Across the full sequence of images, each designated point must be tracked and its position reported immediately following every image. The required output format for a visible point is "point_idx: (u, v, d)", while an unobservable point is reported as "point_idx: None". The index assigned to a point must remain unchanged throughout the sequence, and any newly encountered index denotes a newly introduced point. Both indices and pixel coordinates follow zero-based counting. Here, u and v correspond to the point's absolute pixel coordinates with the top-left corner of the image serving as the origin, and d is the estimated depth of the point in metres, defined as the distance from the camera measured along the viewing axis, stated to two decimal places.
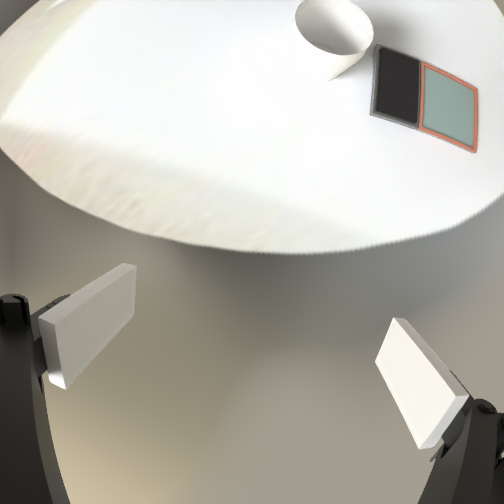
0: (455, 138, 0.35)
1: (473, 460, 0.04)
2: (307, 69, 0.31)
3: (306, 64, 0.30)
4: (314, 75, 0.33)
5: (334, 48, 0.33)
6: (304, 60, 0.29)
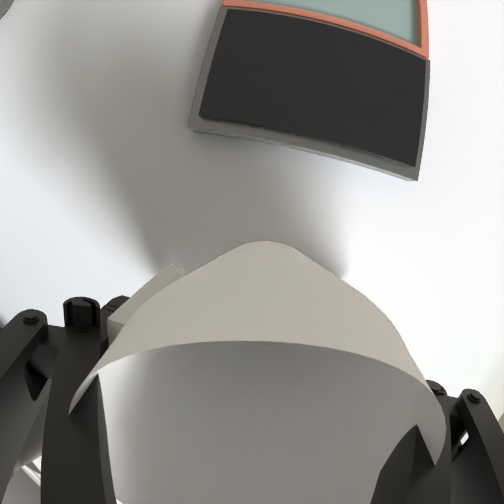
0: None
1: (426, 446, 0.05)
2: (325, 377, 0.13)
3: None
4: None
5: None
6: None
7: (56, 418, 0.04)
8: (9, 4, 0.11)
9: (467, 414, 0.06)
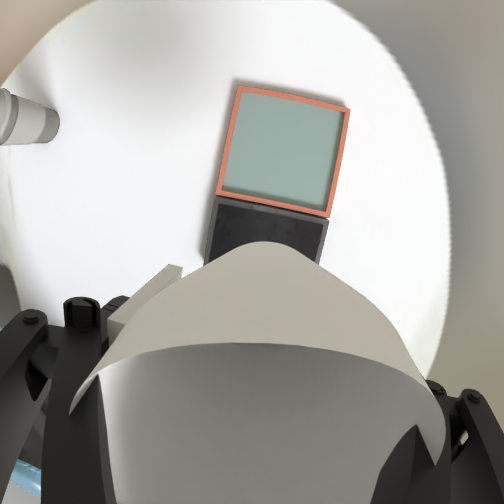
0: (333, 145, 0.29)
1: (426, 446, 0.05)
2: (325, 377, 0.13)
3: None
4: None
5: None
6: None
7: (56, 418, 0.04)
8: (57, 129, 0.29)
9: (467, 414, 0.06)
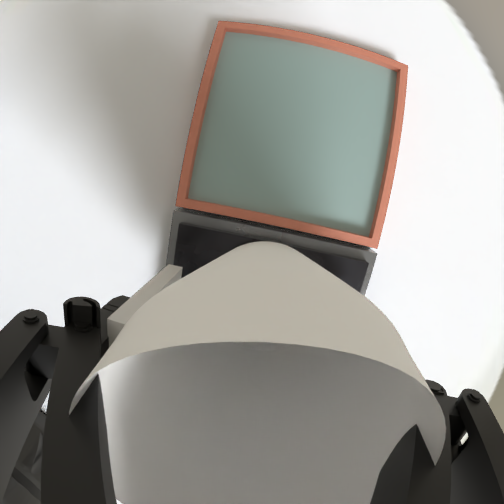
0: (383, 122, 0.15)
1: (426, 446, 0.05)
2: (325, 377, 0.13)
3: None
4: None
5: None
6: None
7: (56, 418, 0.04)
8: None
9: (467, 414, 0.06)
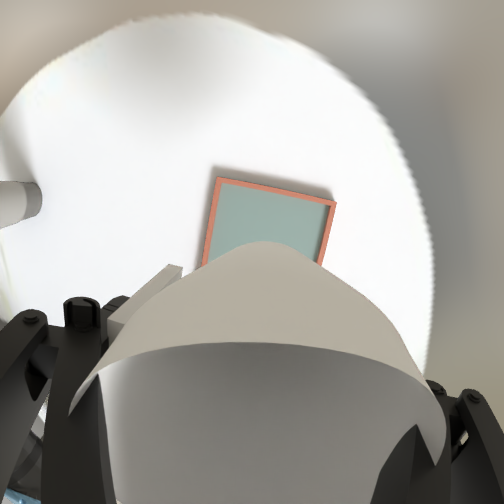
0: (315, 241, 0.30)
1: (426, 446, 0.05)
2: (325, 377, 0.13)
3: None
4: None
5: None
6: None
7: (56, 418, 0.04)
8: (40, 204, 0.30)
9: (467, 414, 0.06)
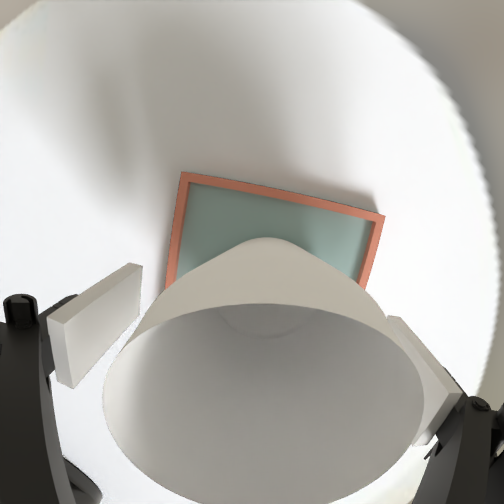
0: None
1: (468, 458, 0.04)
2: (322, 361, 0.14)
3: None
4: None
5: None
6: None
7: (4, 416, 0.03)
8: None
9: None
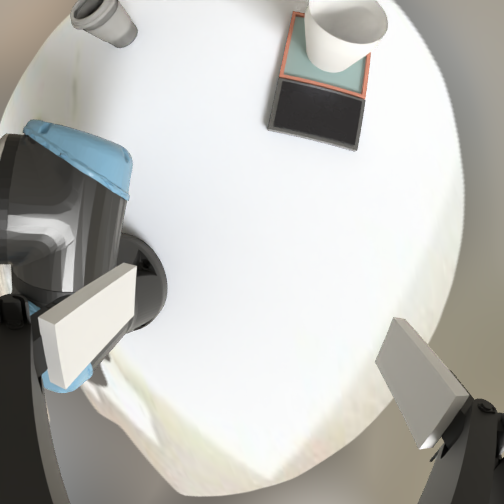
0: None
1: (473, 460, 0.04)
2: None
3: None
4: None
5: None
6: None
7: None
8: (135, 36, 0.33)
9: None
